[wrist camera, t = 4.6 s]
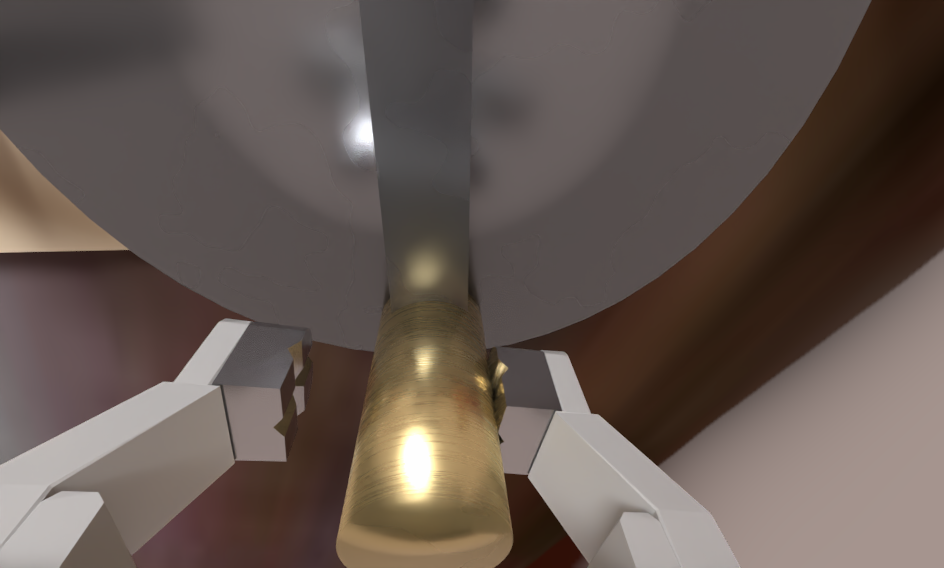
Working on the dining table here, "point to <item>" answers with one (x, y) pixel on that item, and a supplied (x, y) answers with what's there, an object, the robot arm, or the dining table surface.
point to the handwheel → (415, 185)
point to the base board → (41, 211)
